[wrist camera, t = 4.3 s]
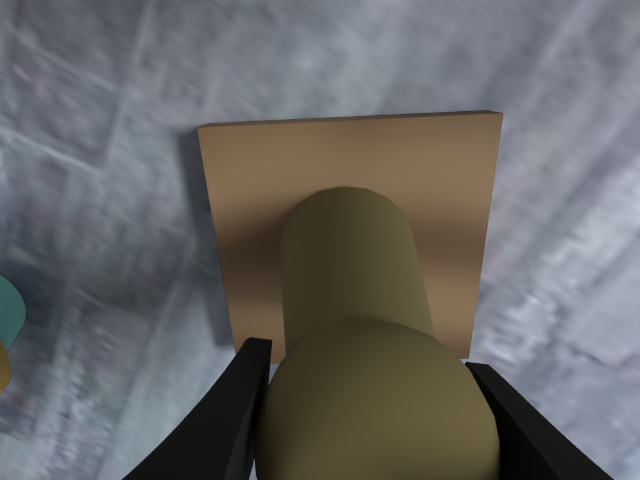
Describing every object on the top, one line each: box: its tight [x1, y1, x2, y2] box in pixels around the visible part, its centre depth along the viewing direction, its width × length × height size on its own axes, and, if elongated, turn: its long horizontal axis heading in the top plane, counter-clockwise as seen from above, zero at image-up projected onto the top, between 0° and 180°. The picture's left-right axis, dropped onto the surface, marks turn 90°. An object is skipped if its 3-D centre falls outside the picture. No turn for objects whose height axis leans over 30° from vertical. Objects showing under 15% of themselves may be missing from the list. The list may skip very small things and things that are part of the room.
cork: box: [254, 186, 500, 480], centre depth 12 cm, size 6×6×11 cm
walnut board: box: [197, 110, 503, 364], centre depth 18 cm, size 12×12×2 cm
